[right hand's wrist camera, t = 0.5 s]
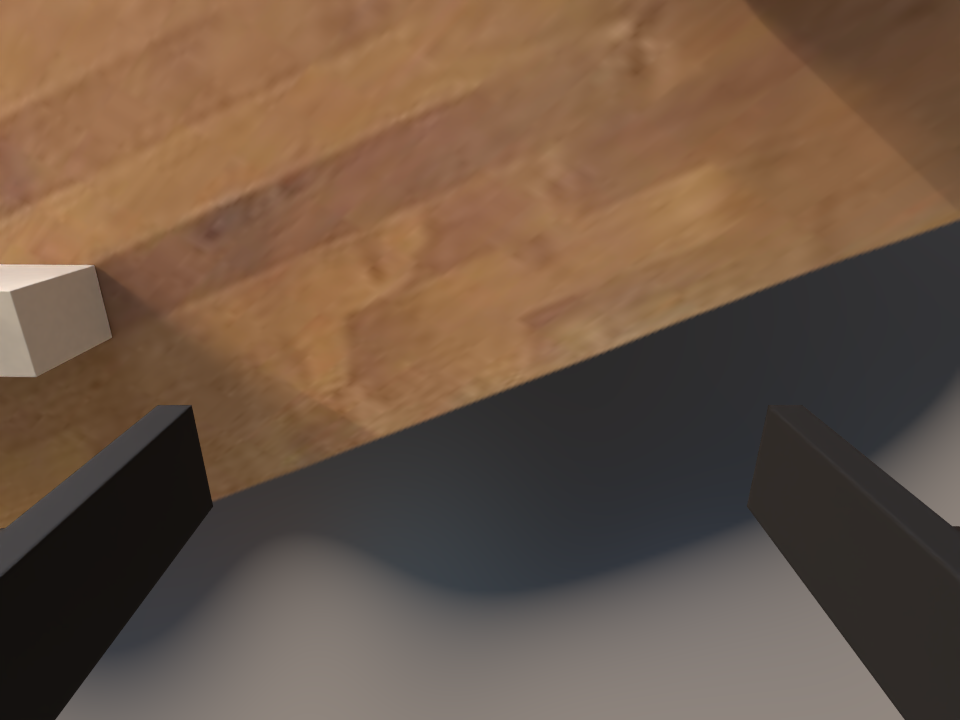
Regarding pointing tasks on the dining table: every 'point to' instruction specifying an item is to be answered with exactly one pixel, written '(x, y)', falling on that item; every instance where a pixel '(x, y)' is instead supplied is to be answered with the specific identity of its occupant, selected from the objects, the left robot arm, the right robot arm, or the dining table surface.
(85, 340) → the bar
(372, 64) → the dining table surface
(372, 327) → the dining table surface
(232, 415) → the dining table surface
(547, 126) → the dining table surface
